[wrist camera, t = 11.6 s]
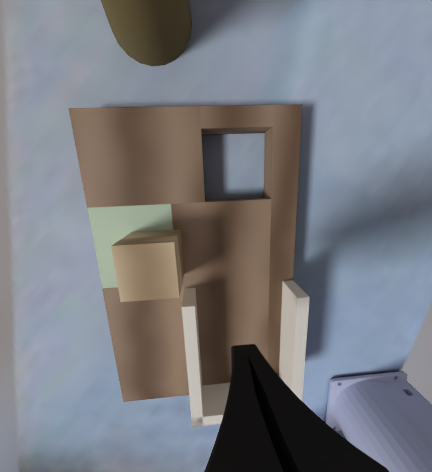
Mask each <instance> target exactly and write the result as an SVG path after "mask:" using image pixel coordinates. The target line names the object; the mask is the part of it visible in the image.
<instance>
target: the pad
mask: <svg viewBox="0 0 432 472" xmlns="http://www.w3.org/2000/svg"><path fill="white" fill-rule="evenodd" d="M88 213H89V218H90V224H91V229H92V234H93V240H94V245H95V251H96V256H97V261H98V267H99V272H100V277H101V283H102V288H103V289H105V288H118V284H117V278H116V273H115V267H114V261H113V255H112V249H111V246H112V245H113V244H115V243H116V242H118V241H119V240H121V239H122V238H124V237H125V236H127V235H128V234H130V233H131V232H144V231H161V230H173V222H172V211H171V204H157V205H136V206H115V207H93V208H88Z"/></svg>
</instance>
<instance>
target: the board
mask: <svg viewBox="0 0 432 472" xmlns="http://www.w3.org/2000/svg"><path fill="white" fill-rule="evenodd" d="M69 113H70V118H71V124H72V129H73V134H74V140H75V145H76V150H77V156H78V161H79V166H80V172H81V177H82V183H83V188H84V193H85V199H86V204H87V208H93V207H115V206H136V205H157V204H171V211H172V222H173V230H179V229H180V230H181V242H182V253H183V265H184V278H183V283H182V288H181V293H180V298H170V299H156V300H143V301H129V302H120V296H119V290H118V288H105V289H102V290H103V295H104V301H105V306H106V311H107V317H108V322H109V327H110V333H111V338H112V343H113V349H114V354H115V359H116V365H117V370H118V376H119V381H120V386H121V392H122V397H123V402H126V401H136V400H145V399H154V398H164V397H173V396H182V395H189V386H188V374H187V363H186V352H185V341H184V330H183V318H182V300H183V293H184V288H194V287H195V288H196V302H197V317H198V331H199V345H200V360H201V374H202V386H203V385H212V384H222V383H230V381H231V347H232V346H235V345H247V344H255V345H256V346H257V347H258V349H259V350H260V352H261V353H262V355H263V356H264V357H265V359H266V360H267V362H268V363H269V364H270V366H271V367H272V368H273V369H274V371H275V372H276V373H277V374H278V375H279V359H280V334H281V308H282V282H283V281H289V280H293V273H294V254H295V234H296V215H297V196H298V177H299V158H300V138H301V119H302V104H299V105H238V106H177V107H117V108H69ZM245 133H265V159H264V198H248V199H226V200H205V193H204V173H203V154H202V135H205V134H245Z"/></svg>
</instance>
